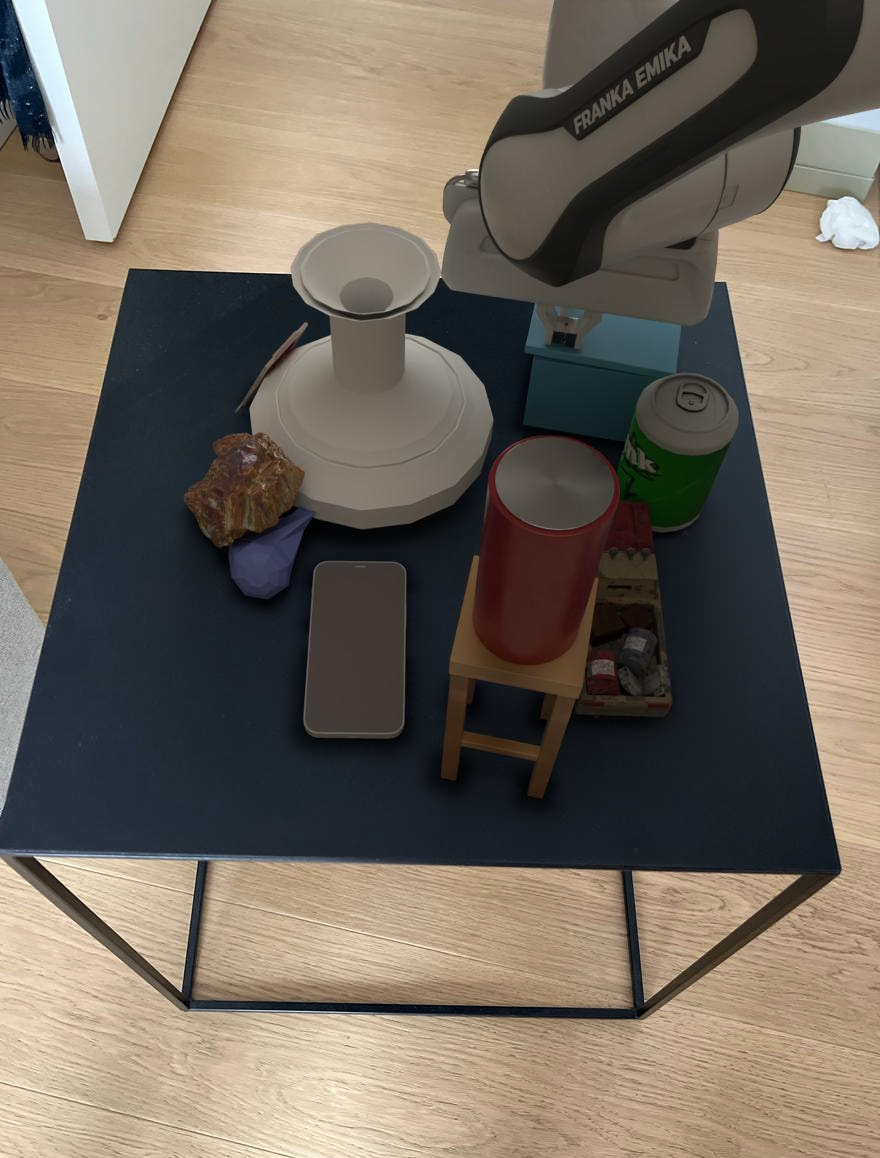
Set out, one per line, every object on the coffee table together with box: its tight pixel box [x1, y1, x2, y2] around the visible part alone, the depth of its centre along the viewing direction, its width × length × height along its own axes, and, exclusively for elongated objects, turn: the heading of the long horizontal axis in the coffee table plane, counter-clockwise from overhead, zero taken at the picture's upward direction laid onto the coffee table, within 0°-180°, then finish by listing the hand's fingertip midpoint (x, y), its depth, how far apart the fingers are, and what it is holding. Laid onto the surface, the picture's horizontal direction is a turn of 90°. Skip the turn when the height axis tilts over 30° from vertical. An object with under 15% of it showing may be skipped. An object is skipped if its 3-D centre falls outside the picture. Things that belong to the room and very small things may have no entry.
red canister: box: [472, 435, 620, 665], centre depth 52 cm, size 6×6×12 cm
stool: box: [440, 555, 598, 799], centre depth 64 cm, size 8×8×17 cm
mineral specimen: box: [183, 432, 305, 549], centre depth 77 cm, size 12×8×7 cm, turn 39°
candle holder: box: [249, 222, 495, 530], centre depth 77 cm, size 20×20×19 cm
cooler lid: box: [523, 303, 683, 378], centre depth 81 cm, size 12×11×4 cm
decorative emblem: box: [234, 321, 309, 414], centre depth 86 cm, size 10×1×10 cm
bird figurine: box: [227, 506, 316, 600], centre depth 77 cm, size 8×6×6 cm
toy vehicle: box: [574, 501, 674, 719], centre depth 73 cm, size 7×18×8 cm, turn 178°
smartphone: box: [303, 560, 407, 740], centre depth 75 cm, size 7×1×15 cm
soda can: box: [616, 372, 740, 533], centre depth 78 cm, size 8×8×12 cm
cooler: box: [522, 354, 661, 443], centre depth 86 cm, size 11×11×8 cm
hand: (563, 341), depth 80 cm, fingers closed
